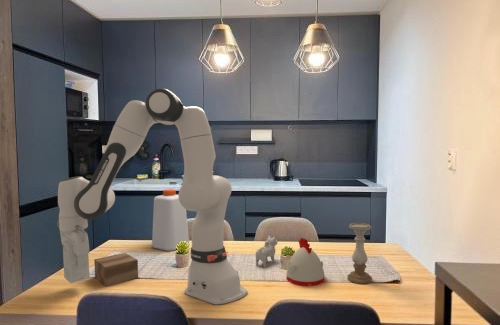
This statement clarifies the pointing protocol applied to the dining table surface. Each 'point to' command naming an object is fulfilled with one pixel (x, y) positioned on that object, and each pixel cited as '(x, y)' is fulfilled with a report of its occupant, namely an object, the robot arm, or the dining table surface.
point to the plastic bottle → (169, 221)
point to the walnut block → (116, 269)
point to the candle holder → (359, 255)
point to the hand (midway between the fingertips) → (75, 263)
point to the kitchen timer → (305, 266)
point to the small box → (74, 265)
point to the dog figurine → (266, 251)
